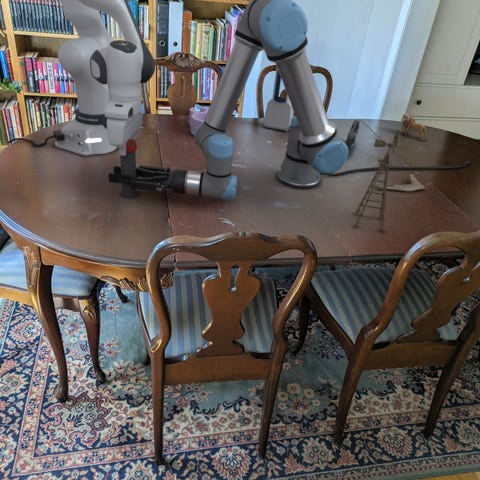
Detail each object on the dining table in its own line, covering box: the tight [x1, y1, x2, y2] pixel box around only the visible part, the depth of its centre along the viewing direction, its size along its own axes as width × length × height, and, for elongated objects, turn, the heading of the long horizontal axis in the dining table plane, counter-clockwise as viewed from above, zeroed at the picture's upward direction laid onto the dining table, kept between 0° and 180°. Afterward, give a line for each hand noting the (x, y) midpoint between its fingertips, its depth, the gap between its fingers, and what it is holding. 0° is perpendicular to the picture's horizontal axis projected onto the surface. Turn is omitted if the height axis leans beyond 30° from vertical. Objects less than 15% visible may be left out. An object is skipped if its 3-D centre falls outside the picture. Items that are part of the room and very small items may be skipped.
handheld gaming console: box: [345, 119, 361, 160], centre depth 194 cm, size 23×3×10 cm, turn 161°
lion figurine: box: [400, 113, 429, 141], centre depth 217 cm, size 15×5×9 cm, turn 50°
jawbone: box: [377, 173, 426, 193], centre depth 169 cm, size 9×20×2 cm, turn 126°
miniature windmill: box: [354, 129, 400, 232], centre depth 137 cm, size 9×8×30 cm
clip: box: [188, 106, 209, 137], centre depth 199 cm, size 20×12×7 cm, turn 23°
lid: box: [117, 140, 138, 153], centre depth 139 cm, size 5×5×2 cm
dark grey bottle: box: [119, 151, 138, 198], centre depth 143 cm, size 4×4×16 cm
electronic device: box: [262, 66, 294, 132], centre depth 204 cm, size 12×8×30 cm, turn 71°
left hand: (127, 149), depth 139 cm, fingers open, 6 cm apart
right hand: (111, 174), depth 144 cm, fingers closed on dark grey bottle, 5 cm apart
